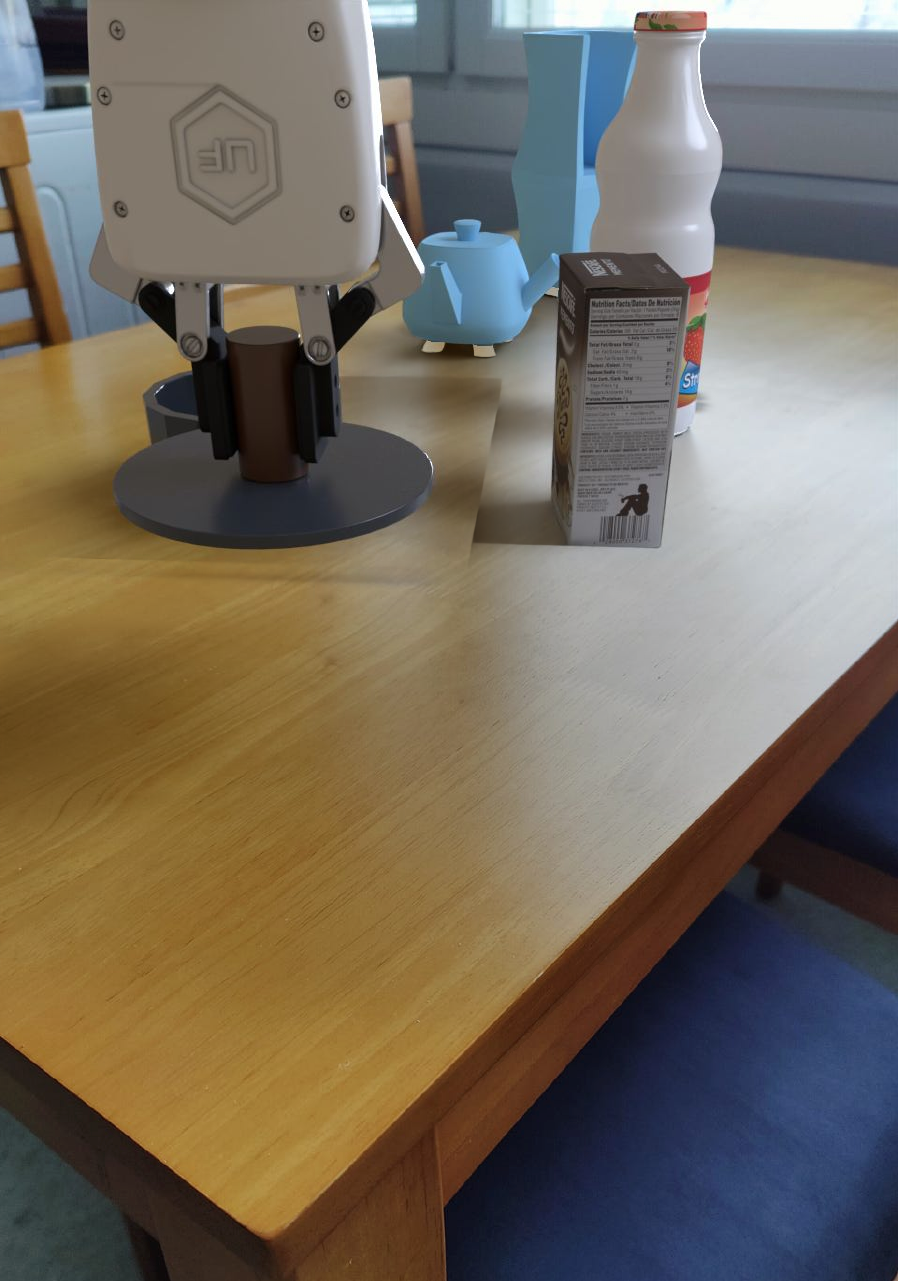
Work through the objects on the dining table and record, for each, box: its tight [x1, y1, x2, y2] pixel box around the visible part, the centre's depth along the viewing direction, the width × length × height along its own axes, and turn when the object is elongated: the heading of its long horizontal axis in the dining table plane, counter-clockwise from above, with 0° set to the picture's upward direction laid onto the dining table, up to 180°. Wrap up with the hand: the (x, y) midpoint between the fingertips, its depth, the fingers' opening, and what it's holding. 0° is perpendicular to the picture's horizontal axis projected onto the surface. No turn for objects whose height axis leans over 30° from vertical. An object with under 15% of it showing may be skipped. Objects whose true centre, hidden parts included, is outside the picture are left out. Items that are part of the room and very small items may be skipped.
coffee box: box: [550, 252, 691, 549], centre depth 72 cm, size 9×6×16 cm
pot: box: [142, 369, 344, 445], centre depth 76 cm, size 13×18×8 cm
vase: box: [510, 29, 637, 288], centre depth 127 cm, size 10×10×25 cm
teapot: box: [401, 218, 560, 346], centre depth 110 cm, size 15×14×11 cm
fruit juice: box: [588, 10, 724, 433], centre depth 85 cm, size 9×9×28 cm
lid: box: [112, 325, 435, 551], centre depth 47 cm, size 14×14×7 cm
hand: (273, 446), depth 48 cm, fingers closed on lid, 3 cm apart
